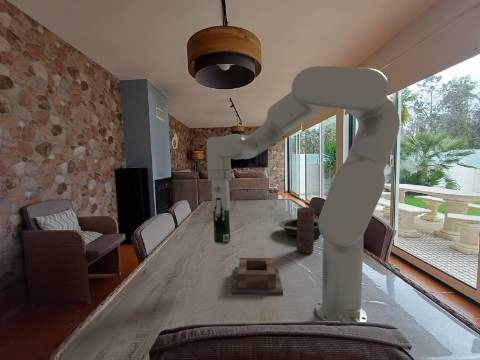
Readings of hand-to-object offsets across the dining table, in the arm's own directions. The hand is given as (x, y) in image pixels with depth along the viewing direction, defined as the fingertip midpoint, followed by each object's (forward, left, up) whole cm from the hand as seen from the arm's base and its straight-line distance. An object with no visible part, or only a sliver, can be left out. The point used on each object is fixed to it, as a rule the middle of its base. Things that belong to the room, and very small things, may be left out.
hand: (221, 229), depth 77 cm
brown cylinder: (+27, -33, -19) cm, 47 cm away
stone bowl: (+50, -36, -19) cm, 65 cm away
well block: (+2, -11, -19) cm, 22 cm away
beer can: (0, 0, -5) cm, 5 cm away
